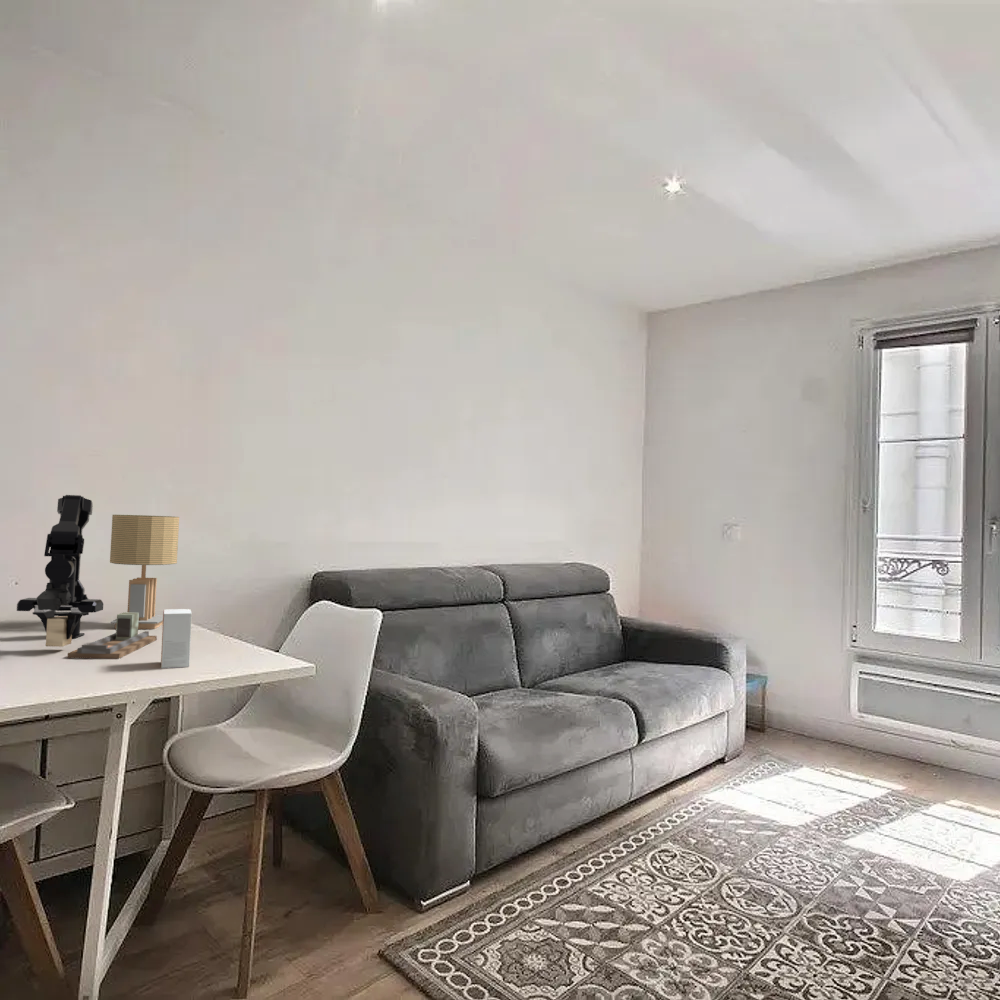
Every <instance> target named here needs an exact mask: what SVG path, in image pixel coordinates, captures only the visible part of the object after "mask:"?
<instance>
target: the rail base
mask: <svg viewBox="0 0 1000 1000" xmlns="http://www.w3.org/2000/svg"><path fill="white" fill-rule="evenodd" d="M116 619H117V625H116V629H115V632H114V633H113V634H110V635H107V636H105V637H103V638H100V639H98V640H95V641H93V642H90V643H87V644H82V645H81V647H77V648H76V649H75V650H72V651H70V652H68V653H67V656H66V657H67V659H108V660H111V659H112V660H113V659H115V660H116V659H117V660H119V658H120V659H122V658H124V657H125V656H127V655H129V654H132V653H133V652H135V651H138V650H139V649H141V648H143V647H146V646H147V645H150V644H151V643H153V642H155V641H157V637H158V636H157V635H150V631H145V630H144V631H143V632H141V633H139V629H138V621H139V613H134V612H127V611H125V612H124V611H122V612H121V613H118V614H116ZM123 656H124V657H123ZM121 657H122V658H121Z"/></svg>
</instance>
